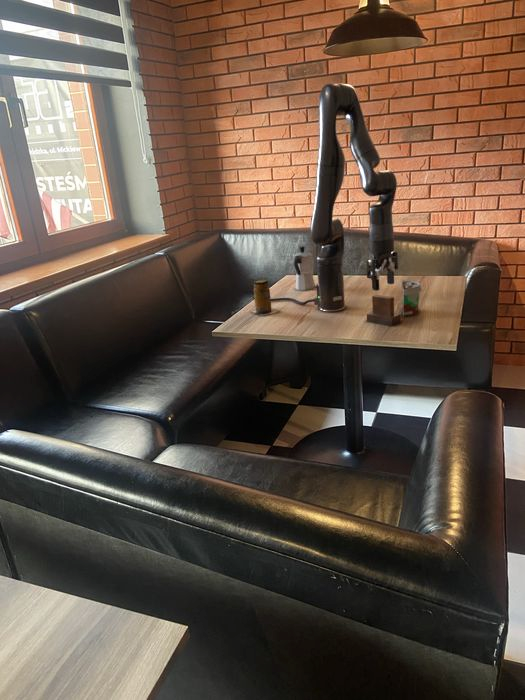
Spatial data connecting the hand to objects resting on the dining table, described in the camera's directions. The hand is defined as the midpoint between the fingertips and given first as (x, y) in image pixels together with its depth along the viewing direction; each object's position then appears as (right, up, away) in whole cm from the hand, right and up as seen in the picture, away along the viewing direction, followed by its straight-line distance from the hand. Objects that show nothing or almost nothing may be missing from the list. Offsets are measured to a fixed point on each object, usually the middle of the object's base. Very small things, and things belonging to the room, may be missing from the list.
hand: (383, 287), depth 175 cm
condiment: (-39, -6, +29) cm, 49 cm away
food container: (+12, -8, +10) cm, 18 cm away
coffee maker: (-22, +6, +56) cm, 61 cm away
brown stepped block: (+1, -11, +4) cm, 12 cm away
